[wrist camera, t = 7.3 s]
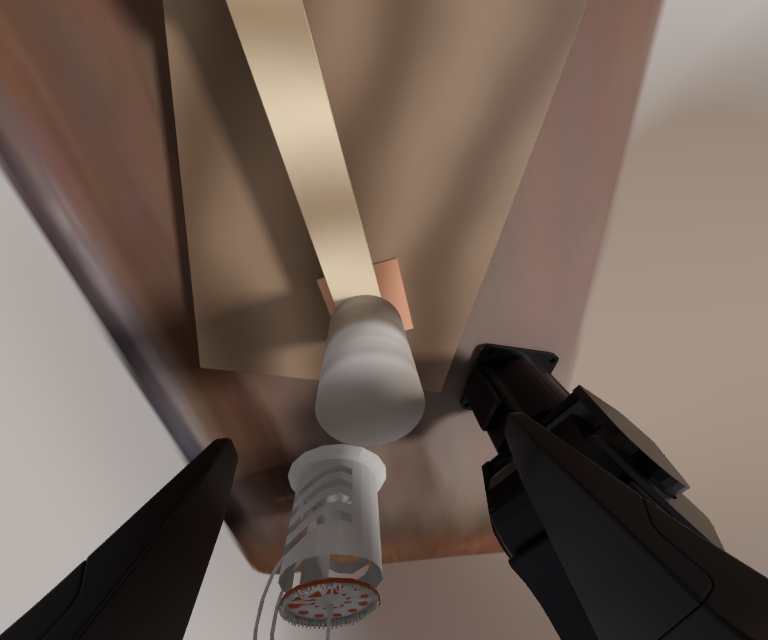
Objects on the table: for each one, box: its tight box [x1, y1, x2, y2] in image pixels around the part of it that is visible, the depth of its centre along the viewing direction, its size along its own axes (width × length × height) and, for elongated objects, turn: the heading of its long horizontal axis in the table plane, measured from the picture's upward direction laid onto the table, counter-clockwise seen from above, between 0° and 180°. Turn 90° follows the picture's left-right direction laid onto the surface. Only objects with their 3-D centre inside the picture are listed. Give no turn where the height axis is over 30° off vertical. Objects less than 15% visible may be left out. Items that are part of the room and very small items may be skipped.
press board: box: [163, 0, 589, 393], centre depth 16 cm, size 18×25×2 cm
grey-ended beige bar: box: [226, 0, 425, 447], centre depth 10 cm, size 20×4×8 cm, turn 13°
